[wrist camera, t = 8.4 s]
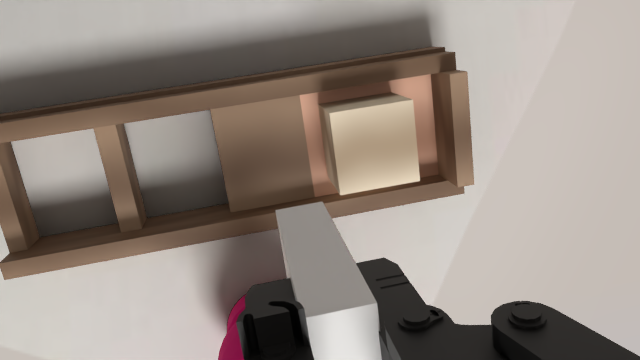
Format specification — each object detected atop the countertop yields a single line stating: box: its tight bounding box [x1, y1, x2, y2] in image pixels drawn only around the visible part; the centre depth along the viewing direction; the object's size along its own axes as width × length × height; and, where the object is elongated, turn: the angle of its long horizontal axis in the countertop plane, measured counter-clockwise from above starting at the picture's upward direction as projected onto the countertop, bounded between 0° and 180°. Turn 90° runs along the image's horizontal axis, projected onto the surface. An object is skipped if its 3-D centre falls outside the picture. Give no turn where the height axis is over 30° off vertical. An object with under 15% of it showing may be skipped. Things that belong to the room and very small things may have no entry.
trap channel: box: [0, 47, 474, 280], centre depth 31 cm, size 9×27×5 cm, turn 99°
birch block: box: [318, 92, 420, 195], centre depth 30 cm, size 4×4×4 cm
